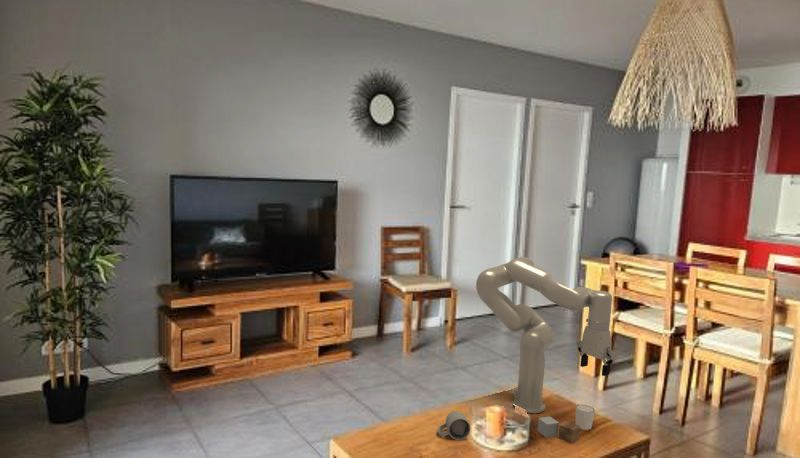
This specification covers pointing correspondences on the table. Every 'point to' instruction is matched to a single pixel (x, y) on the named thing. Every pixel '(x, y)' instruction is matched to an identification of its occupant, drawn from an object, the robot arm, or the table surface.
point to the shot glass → (584, 416)
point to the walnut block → (569, 432)
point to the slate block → (548, 427)
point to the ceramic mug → (455, 426)
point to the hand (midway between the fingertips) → (594, 370)
